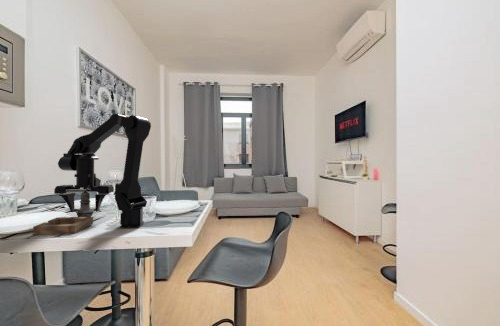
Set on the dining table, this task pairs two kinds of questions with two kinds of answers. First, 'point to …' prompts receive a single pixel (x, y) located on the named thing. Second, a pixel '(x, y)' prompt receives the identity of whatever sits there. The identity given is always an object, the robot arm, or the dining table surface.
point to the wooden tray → (63, 225)
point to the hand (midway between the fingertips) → (85, 211)
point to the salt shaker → (85, 206)
